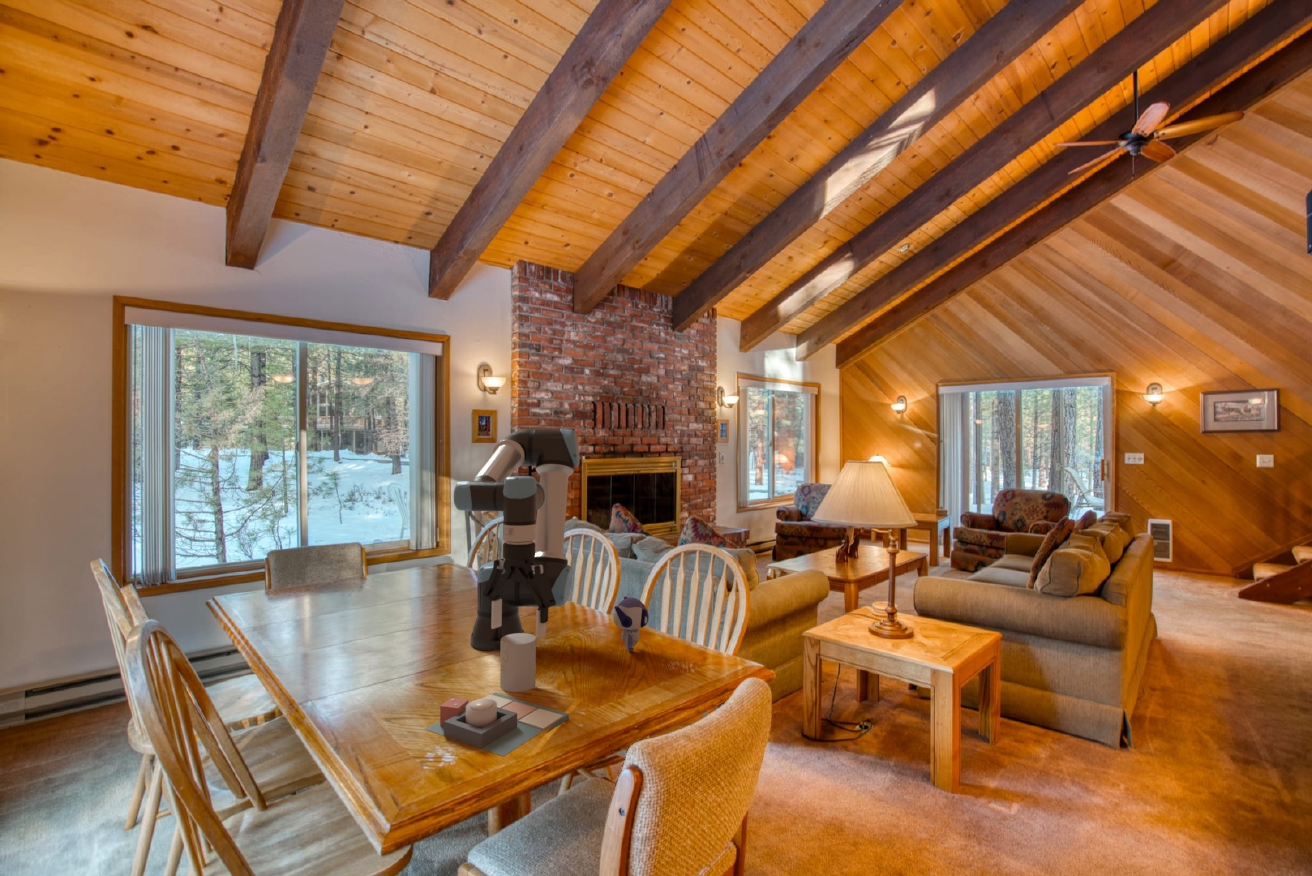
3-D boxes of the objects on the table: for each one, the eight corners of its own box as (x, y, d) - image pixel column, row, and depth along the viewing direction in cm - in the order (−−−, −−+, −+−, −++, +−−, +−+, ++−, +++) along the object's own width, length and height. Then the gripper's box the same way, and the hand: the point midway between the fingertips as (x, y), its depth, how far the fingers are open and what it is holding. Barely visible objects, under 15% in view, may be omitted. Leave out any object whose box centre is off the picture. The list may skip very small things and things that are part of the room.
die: (440, 725, 126) (440, 704, 126) (451, 716, 130) (451, 696, 130) (457, 728, 125) (457, 706, 125) (468, 719, 129) (468, 698, 129)
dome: (459, 727, 123) (459, 705, 123) (481, 715, 128) (481, 694, 128) (481, 735, 120) (481, 712, 120) (503, 722, 125) (503, 701, 125)
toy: (643, 660, 166) (644, 604, 166) (608, 656, 168) (608, 601, 168) (651, 646, 177) (652, 594, 176) (618, 643, 179) (618, 592, 178)
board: (424, 733, 125) (424, 714, 124) (495, 697, 142) (495, 680, 142) (503, 761, 114) (503, 741, 114) (568, 718, 132) (569, 700, 132)
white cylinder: (503, 682, 150) (503, 633, 150) (537, 681, 151) (537, 632, 151) (497, 696, 142) (497, 644, 142) (533, 696, 143) (533, 644, 143)
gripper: (468, 539, 149) (467, 627, 149) (551, 549, 137) (549, 645, 137) (491, 535, 155) (490, 619, 155) (571, 544, 143) (570, 636, 143)
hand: (518, 631), depth 146 cm, fingers open, 13 cm apart
